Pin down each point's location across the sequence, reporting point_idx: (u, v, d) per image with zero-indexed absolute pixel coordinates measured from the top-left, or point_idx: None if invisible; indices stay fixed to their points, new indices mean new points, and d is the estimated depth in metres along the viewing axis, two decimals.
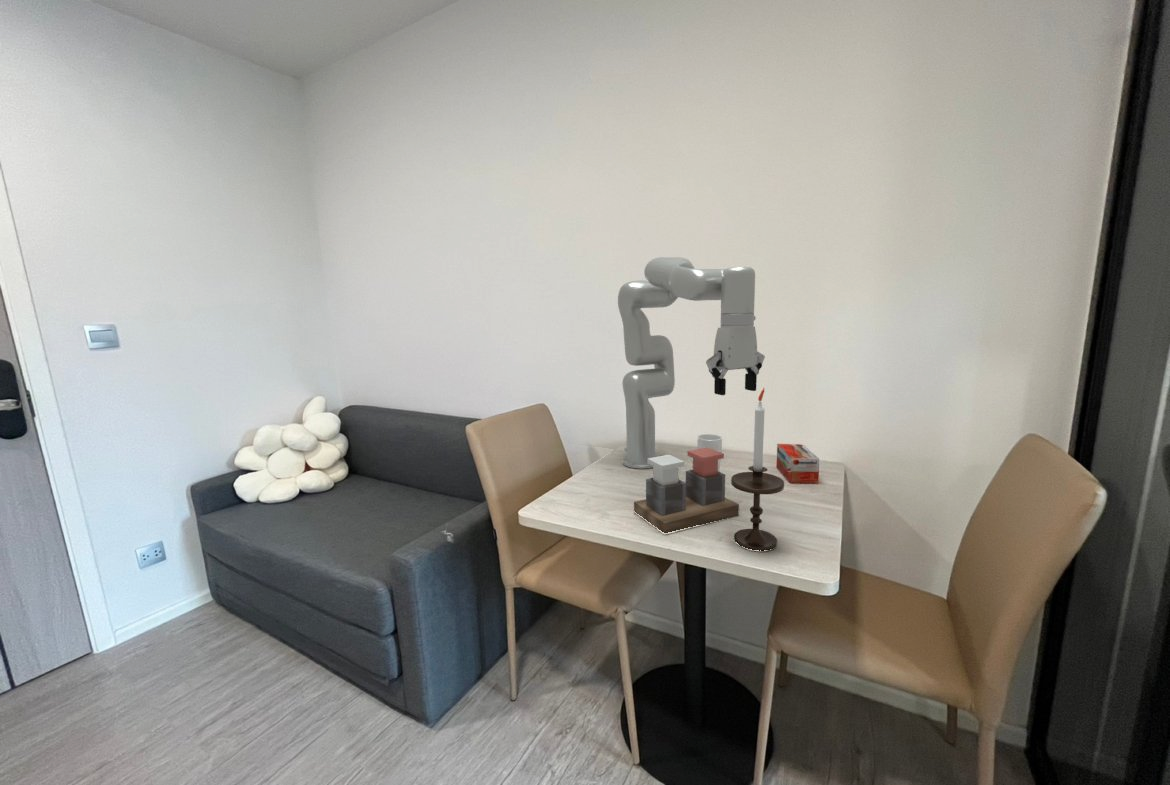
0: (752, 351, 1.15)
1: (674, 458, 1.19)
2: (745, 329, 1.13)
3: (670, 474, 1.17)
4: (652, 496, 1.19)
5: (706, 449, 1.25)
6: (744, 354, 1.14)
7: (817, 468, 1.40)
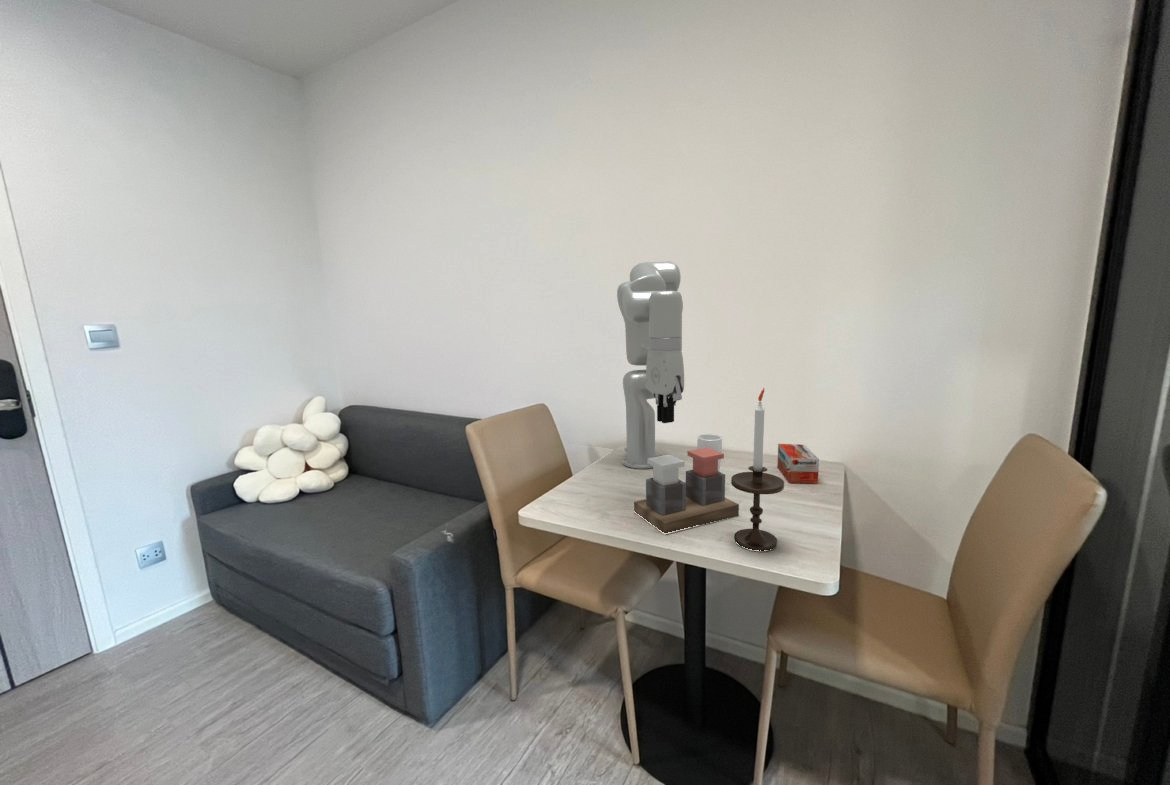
0: None
1: (674, 458, 1.19)
2: None
3: (670, 474, 1.17)
4: (652, 496, 1.19)
5: (706, 449, 1.25)
6: None
7: (817, 468, 1.39)
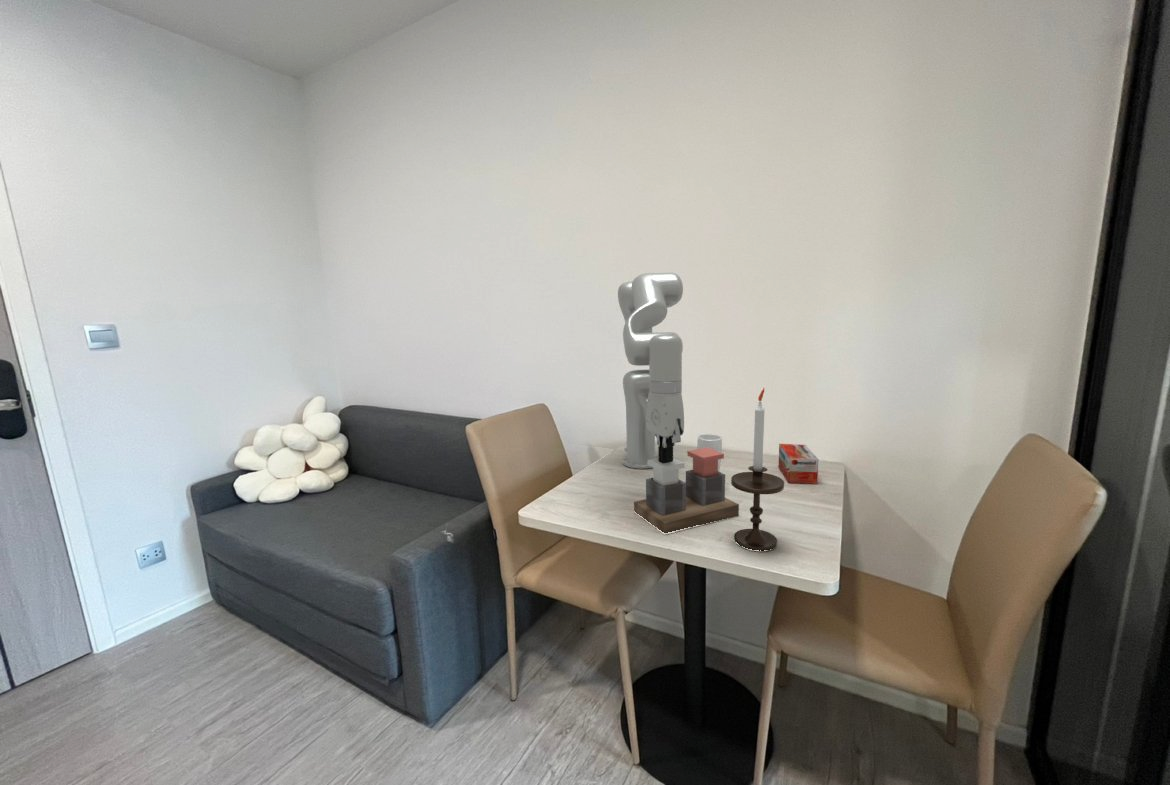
0: None
1: (674, 459, 1.19)
2: None
3: (670, 475, 1.17)
4: (652, 496, 1.19)
5: (706, 449, 1.25)
6: None
7: (816, 469, 1.39)
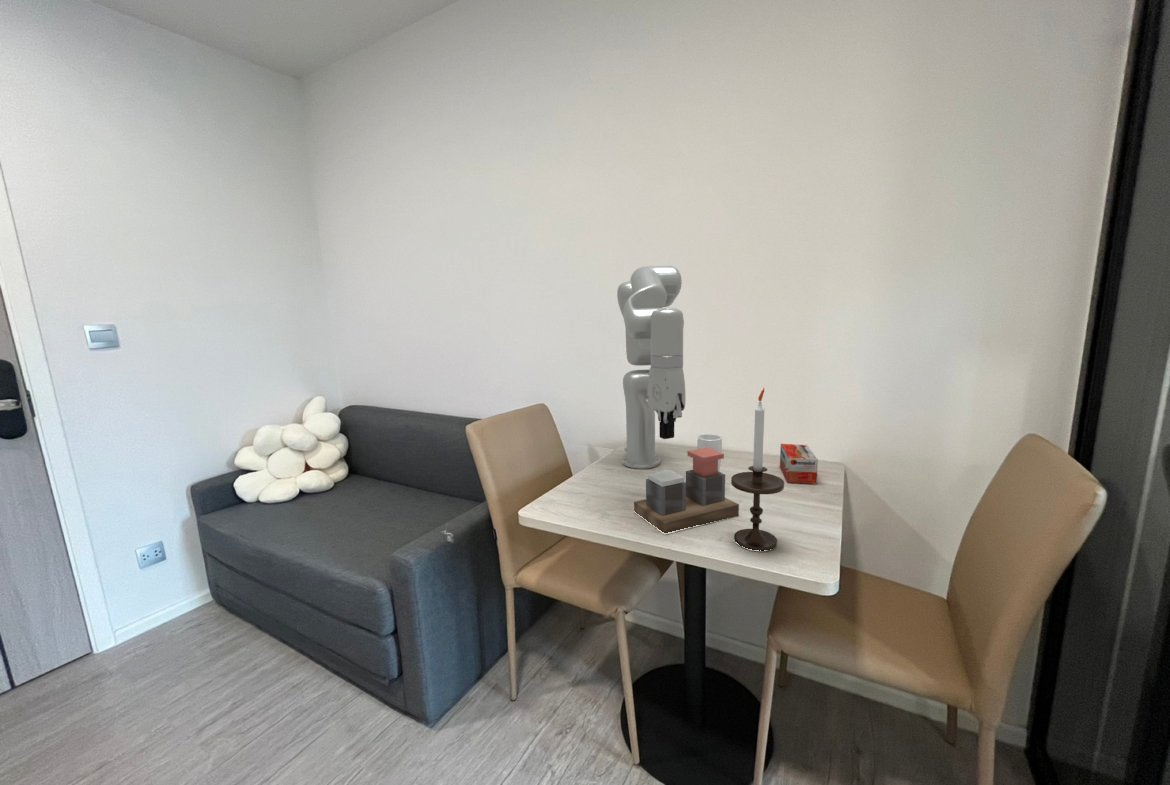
0: None
1: (674, 473, 1.20)
2: None
3: None
4: (652, 496, 1.19)
5: (706, 449, 1.25)
6: None
7: (815, 469, 1.39)
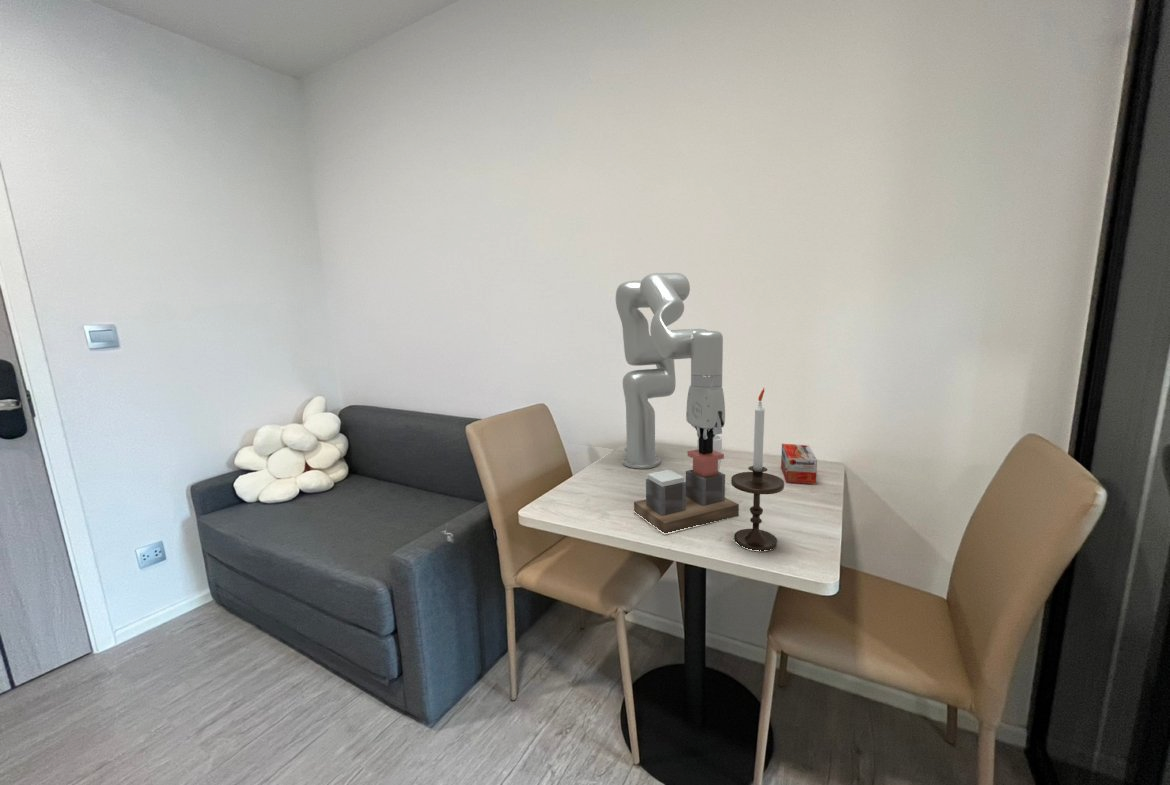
0: None
1: (674, 473, 1.20)
2: None
3: None
4: (652, 496, 1.19)
5: None
6: None
7: (815, 469, 1.39)
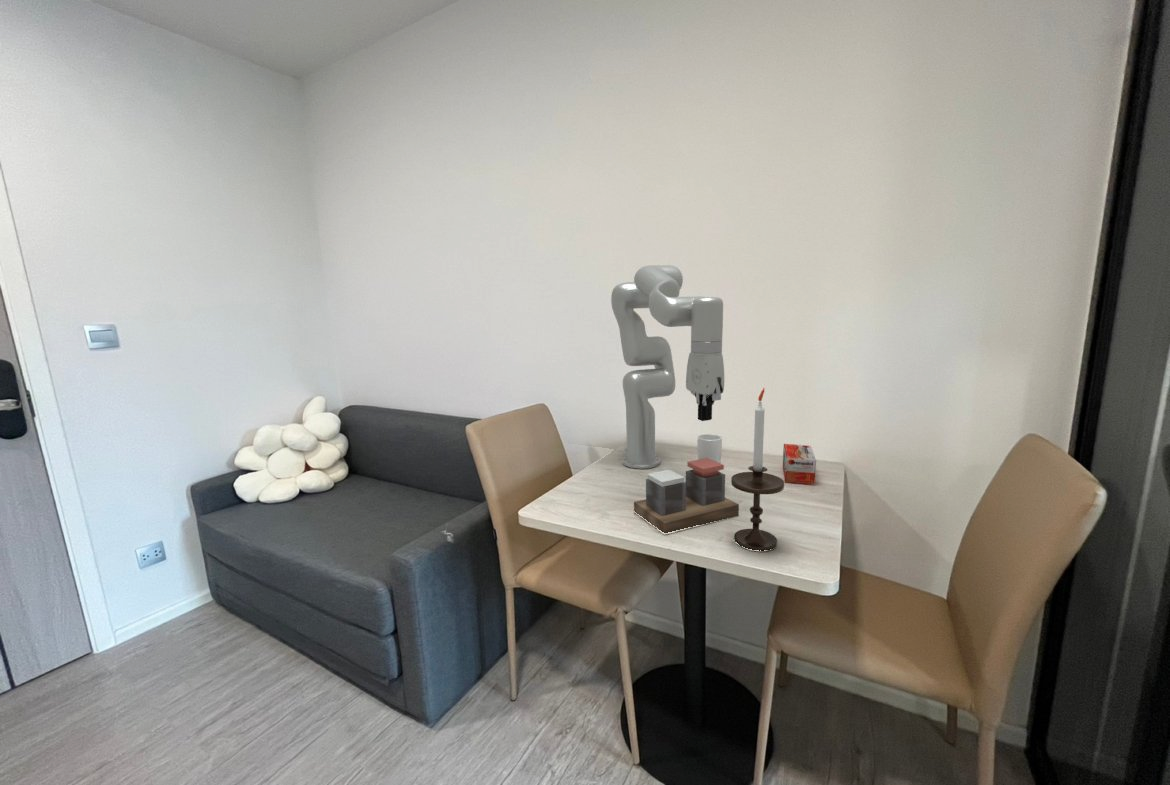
0: None
1: (674, 473, 1.20)
2: None
3: None
4: (652, 496, 1.19)
5: (706, 460, 1.26)
6: None
7: (814, 469, 1.39)
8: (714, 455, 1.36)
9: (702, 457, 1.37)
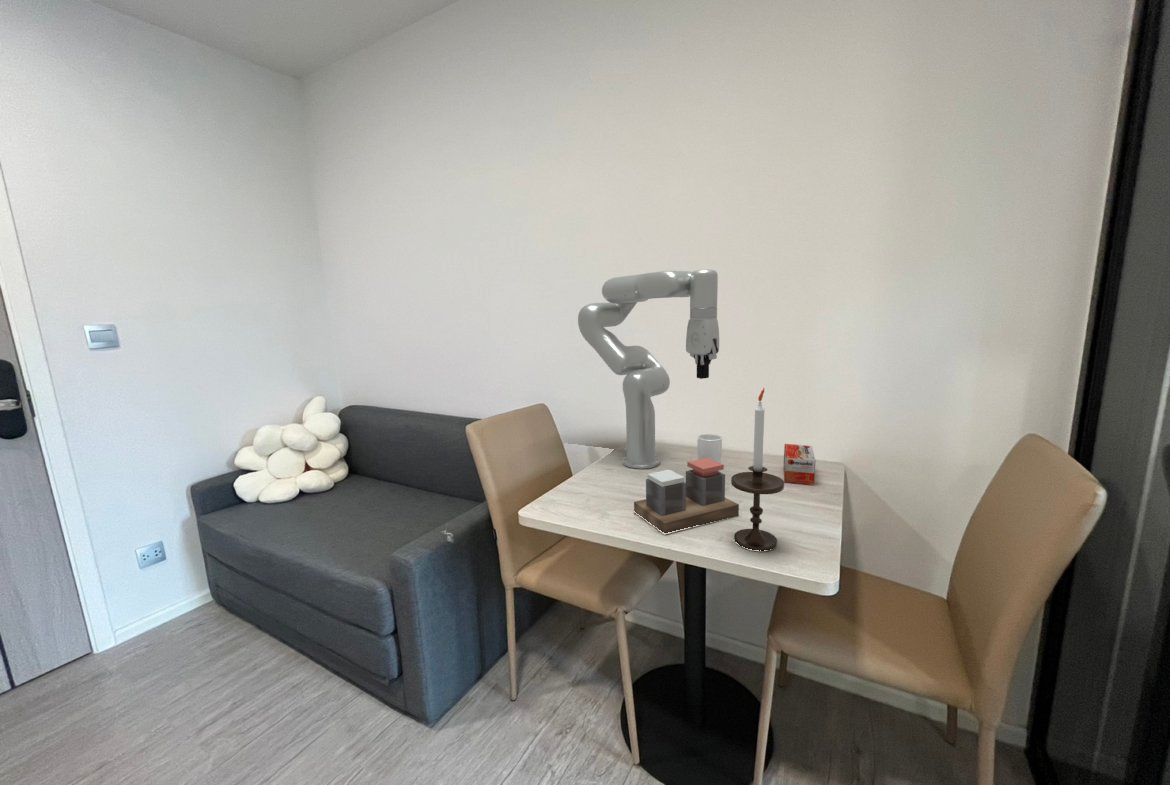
0: None
1: (674, 473, 1.20)
2: None
3: None
4: (652, 496, 1.19)
5: (706, 460, 1.26)
6: None
7: (813, 470, 1.38)
8: (714, 455, 1.36)
9: (702, 457, 1.37)
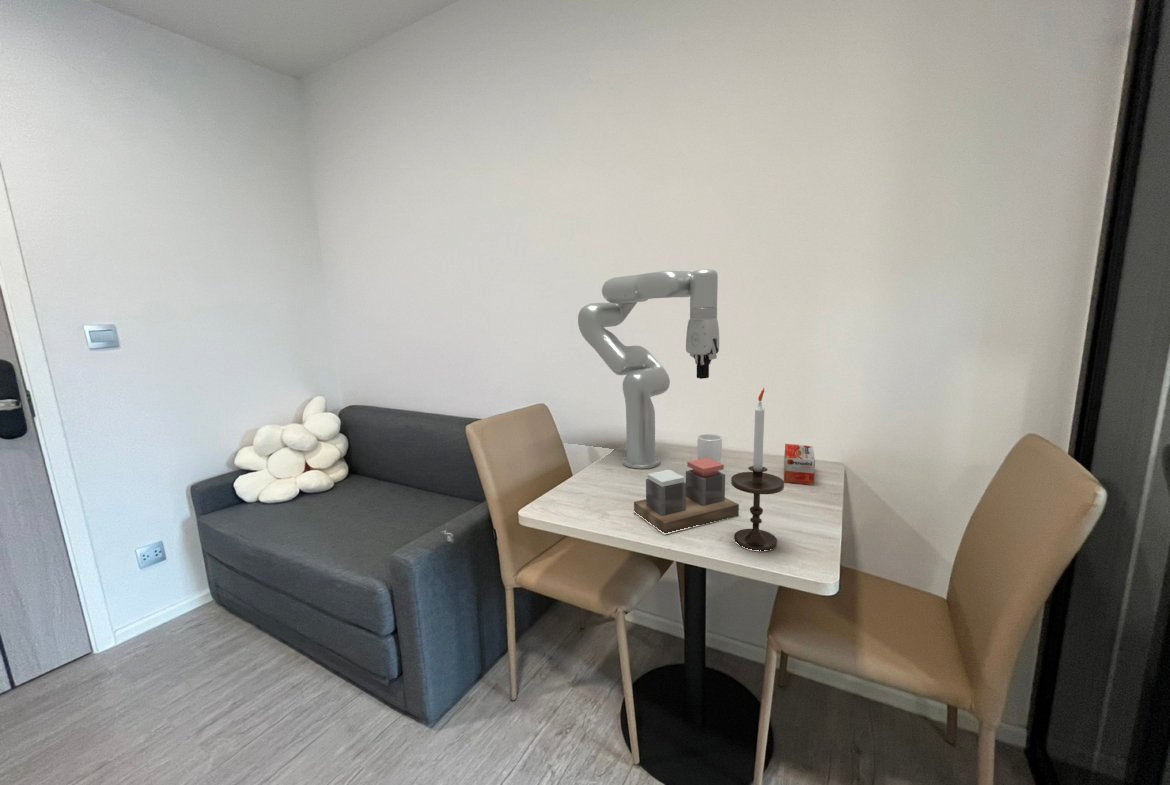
0: None
1: (674, 473, 1.20)
2: None
3: None
4: (652, 496, 1.19)
5: (706, 460, 1.26)
6: None
7: (812, 470, 1.38)
8: (714, 455, 1.36)
9: (702, 457, 1.37)
